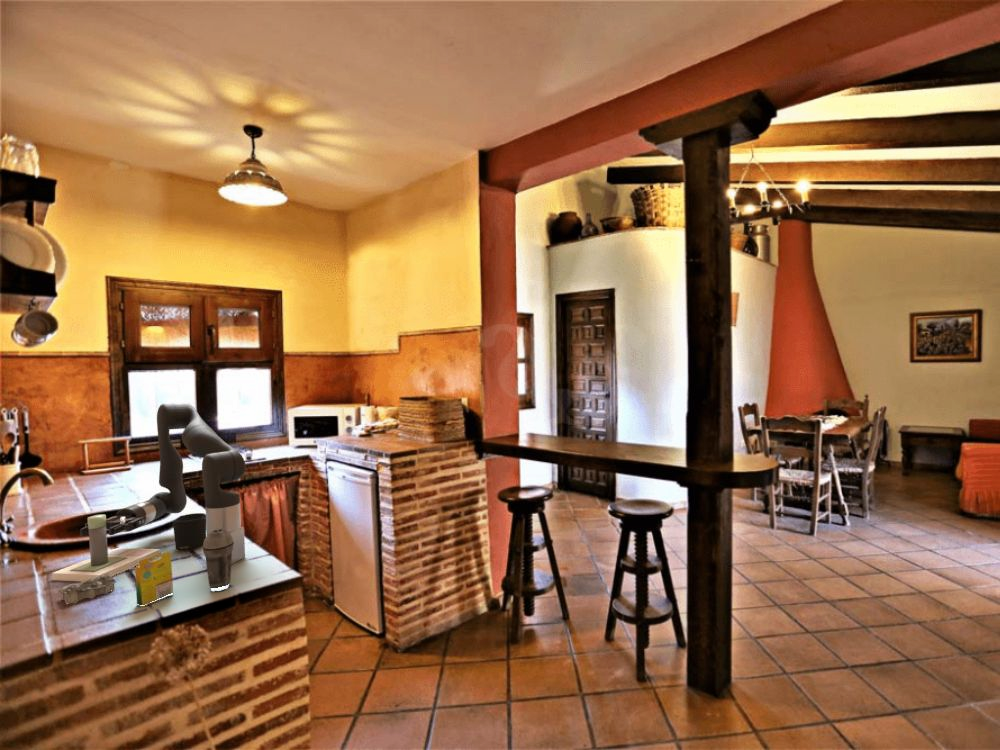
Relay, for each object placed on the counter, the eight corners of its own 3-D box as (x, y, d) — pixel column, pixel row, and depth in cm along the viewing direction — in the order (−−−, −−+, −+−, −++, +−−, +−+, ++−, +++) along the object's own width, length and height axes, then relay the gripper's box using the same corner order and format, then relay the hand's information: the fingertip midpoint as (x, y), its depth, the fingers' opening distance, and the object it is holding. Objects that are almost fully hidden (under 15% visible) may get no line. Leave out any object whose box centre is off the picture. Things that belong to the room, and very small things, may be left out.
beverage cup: (203, 597, 127) (200, 519, 127) (205, 586, 134) (202, 512, 133) (235, 590, 131) (232, 514, 130) (235, 580, 137) (232, 508, 137)
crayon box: (168, 593, 130) (166, 549, 130) (174, 595, 129) (172, 550, 129) (135, 605, 124) (134, 558, 124) (141, 607, 122) (139, 560, 122)
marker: (112, 560, 149) (109, 514, 149) (98, 566, 145) (95, 518, 144) (100, 560, 150) (97, 514, 149) (86, 566, 145) (83, 518, 145)
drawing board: (160, 555, 158) (160, 548, 158) (99, 582, 139) (99, 574, 139) (117, 553, 161) (117, 547, 161) (52, 580, 142) (51, 572, 142)
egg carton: (64, 607, 124) (63, 591, 124) (59, 599, 130) (59, 583, 129) (117, 592, 132) (116, 577, 132) (111, 584, 137) (110, 570, 137)
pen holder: (168, 549, 164) (167, 519, 164) (198, 540, 172) (197, 511, 172) (183, 554, 159) (181, 523, 159) (213, 544, 167) (211, 515, 167)
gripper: (113, 505, 162) (70, 520, 146) (157, 503, 162) (119, 518, 146) (114, 528, 162) (71, 545, 146) (158, 526, 162) (120, 544, 146)
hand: (95, 532), depth 146 cm, fingers open, 8 cm apart
